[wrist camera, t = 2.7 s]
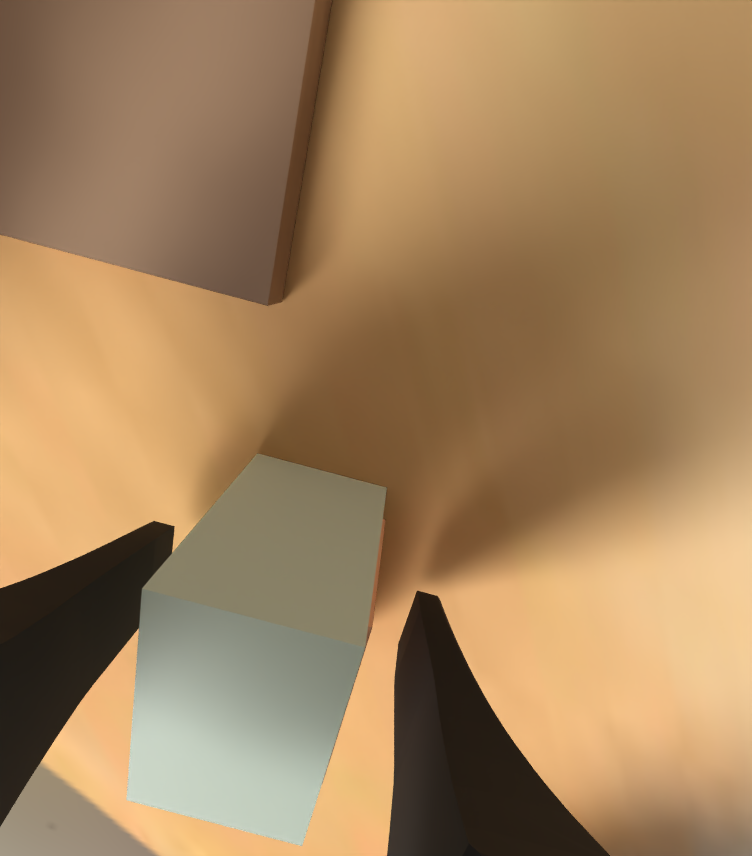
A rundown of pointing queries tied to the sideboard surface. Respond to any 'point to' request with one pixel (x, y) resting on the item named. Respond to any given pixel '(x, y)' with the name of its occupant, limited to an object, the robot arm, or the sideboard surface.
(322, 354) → the sideboard surface
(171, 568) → the product carton
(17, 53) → the shelf board
